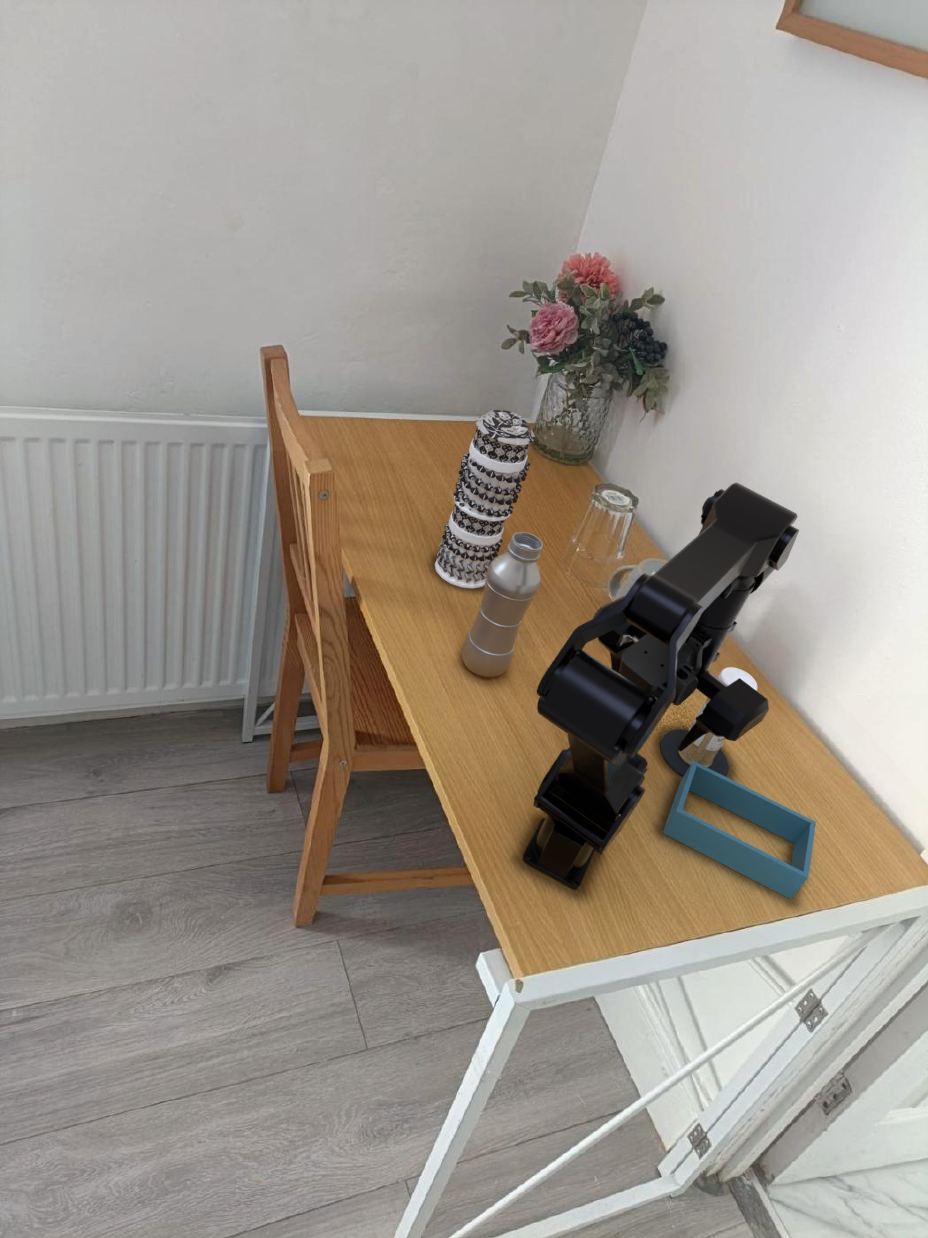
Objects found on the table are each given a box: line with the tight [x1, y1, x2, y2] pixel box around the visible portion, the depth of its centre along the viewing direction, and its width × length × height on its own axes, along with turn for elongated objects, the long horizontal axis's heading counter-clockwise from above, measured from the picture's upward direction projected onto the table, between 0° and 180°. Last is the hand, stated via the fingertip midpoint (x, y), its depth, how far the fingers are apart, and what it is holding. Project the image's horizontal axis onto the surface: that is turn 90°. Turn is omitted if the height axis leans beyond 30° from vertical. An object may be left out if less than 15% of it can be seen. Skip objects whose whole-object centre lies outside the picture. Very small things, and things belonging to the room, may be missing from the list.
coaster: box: [659, 728, 730, 778], centre depth 110 cm, size 9×9×1 cm
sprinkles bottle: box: [678, 666, 758, 768], centre depth 106 cm, size 5×5×13 cm
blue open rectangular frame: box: [662, 761, 817, 900], centre depth 100 cm, size 9×15×4 cm, turn 66°
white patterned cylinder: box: [434, 409, 536, 589], centre depth 122 cm, size 9×9×25 cm
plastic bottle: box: [461, 531, 544, 678], centre depth 108 cm, size 6×7×20 cm
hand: (647, 720), depth 93 cm, fingers open, 9 cm apart
